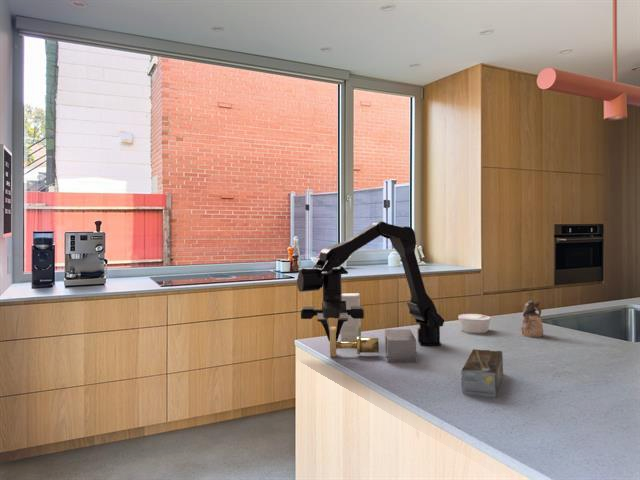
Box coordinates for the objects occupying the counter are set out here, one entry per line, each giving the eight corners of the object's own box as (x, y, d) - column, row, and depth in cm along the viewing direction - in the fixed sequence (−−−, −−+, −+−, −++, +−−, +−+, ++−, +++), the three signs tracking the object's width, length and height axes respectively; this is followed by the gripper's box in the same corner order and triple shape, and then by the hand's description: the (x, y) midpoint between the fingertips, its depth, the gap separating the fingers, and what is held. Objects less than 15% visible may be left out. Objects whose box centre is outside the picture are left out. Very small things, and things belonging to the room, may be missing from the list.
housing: (410, 349, 150) (410, 329, 150) (416, 362, 136) (416, 340, 136) (384, 349, 150) (384, 329, 150) (387, 362, 136) (387, 340, 136)
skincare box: (358, 342, 160) (357, 296, 160) (339, 341, 162) (338, 295, 161) (361, 336, 169) (360, 292, 168) (342, 336, 170) (342, 292, 169)
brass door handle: (378, 352, 146) (377, 326, 146) (378, 356, 141) (378, 329, 141) (330, 352, 147) (330, 326, 147) (330, 356, 142) (329, 330, 142)
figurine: (525, 331, 171) (525, 298, 171) (546, 334, 166) (546, 300, 166) (517, 335, 166) (517, 300, 166) (538, 338, 161) (538, 303, 161)
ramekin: (495, 334, 169) (494, 319, 169) (463, 334, 169) (463, 319, 169) (484, 327, 180) (484, 313, 180) (454, 327, 180) (454, 313, 180)
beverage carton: (460, 394, 111) (459, 366, 111) (472, 371, 128) (471, 346, 128) (496, 399, 107) (496, 370, 107) (503, 374, 125) (503, 349, 125)
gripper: (298, 293, 137) (299, 347, 137) (363, 293, 135) (364, 347, 136) (302, 288, 148) (303, 338, 148) (363, 287, 146) (364, 338, 147)
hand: (333, 340), depth 144 cm, fingers closed on brass door handle, 2 cm apart
